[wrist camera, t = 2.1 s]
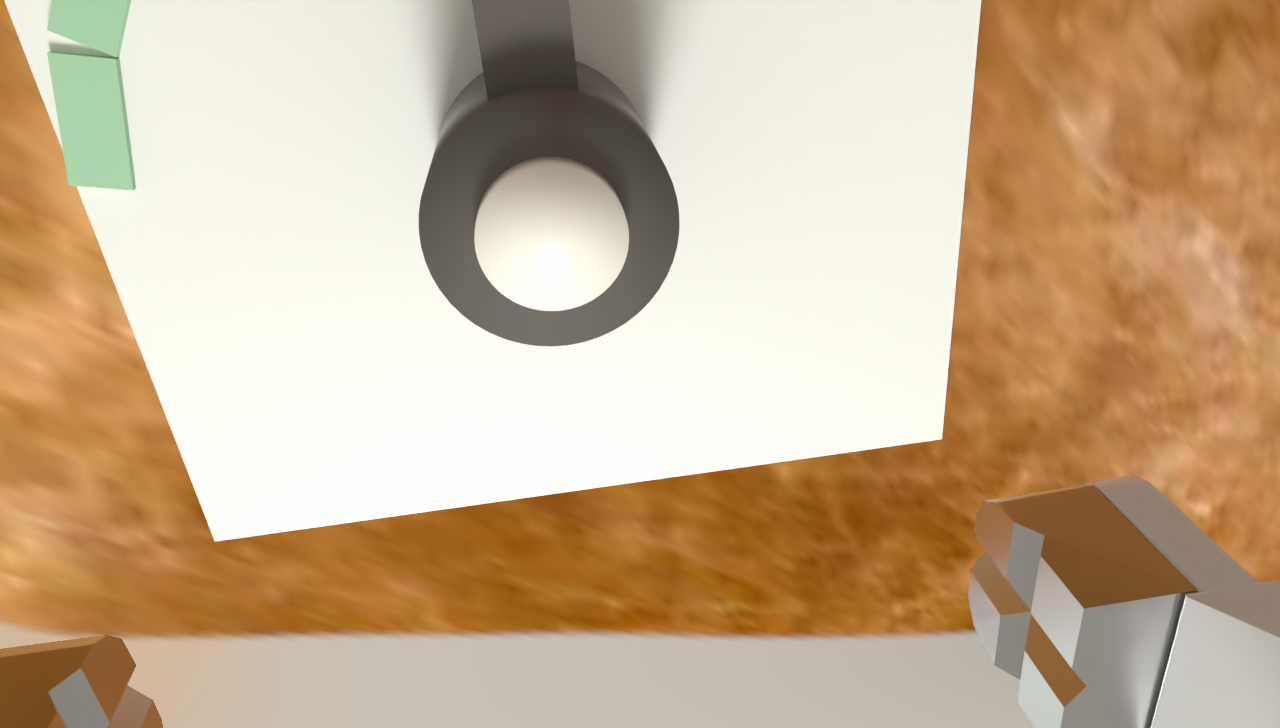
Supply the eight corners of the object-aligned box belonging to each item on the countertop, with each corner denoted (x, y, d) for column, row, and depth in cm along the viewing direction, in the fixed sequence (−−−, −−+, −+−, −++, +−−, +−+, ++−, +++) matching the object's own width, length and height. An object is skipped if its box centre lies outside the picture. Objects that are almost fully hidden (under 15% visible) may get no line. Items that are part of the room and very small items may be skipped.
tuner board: (993, -376, 19) (1020, -391, 18) (928, 422, 29) (944, 442, 28) (-86, -292, 18) (-124, -302, 17) (222, 520, 28) (210, 546, 26)
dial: (656, 251, 24) (691, 342, 19) (457, 275, 24) (443, 374, 19) (607, -375, 18) (640, -469, 13) (335, -355, 17) (268, -444, 13)
